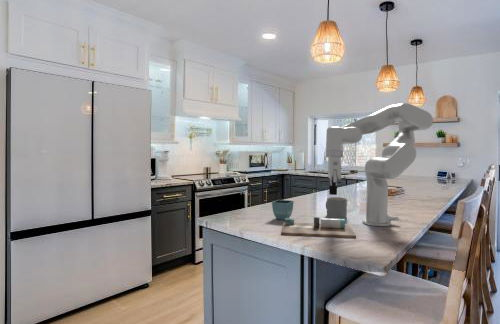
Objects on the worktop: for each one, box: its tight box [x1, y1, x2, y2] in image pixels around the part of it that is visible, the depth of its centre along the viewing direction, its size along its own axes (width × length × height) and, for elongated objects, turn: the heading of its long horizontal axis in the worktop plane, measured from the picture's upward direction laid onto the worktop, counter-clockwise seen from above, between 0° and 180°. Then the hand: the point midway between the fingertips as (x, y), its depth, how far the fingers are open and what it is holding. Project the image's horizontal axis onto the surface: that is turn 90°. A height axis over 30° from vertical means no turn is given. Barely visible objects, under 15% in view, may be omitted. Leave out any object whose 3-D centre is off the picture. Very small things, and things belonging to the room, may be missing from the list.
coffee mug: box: [325, 196, 348, 220], centre depth 166 cm, size 13×10×10 cm
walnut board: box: [280, 216, 357, 239], centre depth 138 cm, size 30×18×5 cm, turn 81°
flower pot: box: [271, 199, 294, 221], centre depth 161 cm, size 9×9×9 cm
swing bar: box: [320, 217, 346, 228], centre depth 139 cm, size 10×2×4 cm, turn 81°
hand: (333, 194), depth 144 cm, fingers closed
